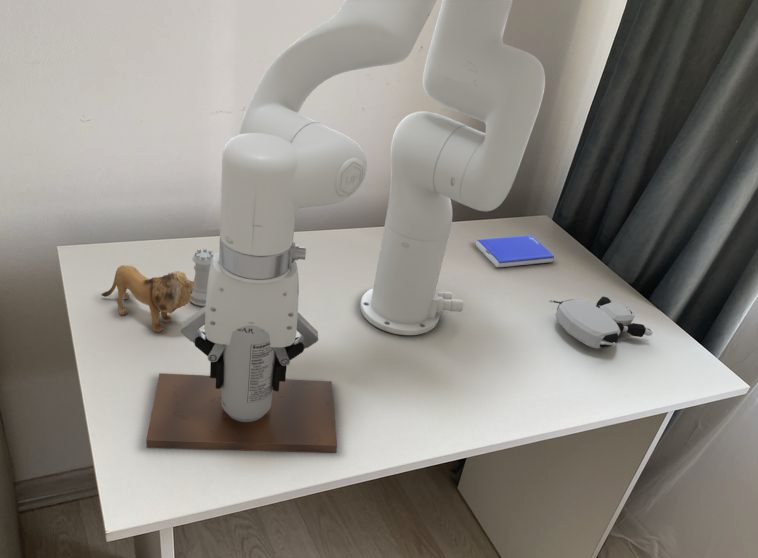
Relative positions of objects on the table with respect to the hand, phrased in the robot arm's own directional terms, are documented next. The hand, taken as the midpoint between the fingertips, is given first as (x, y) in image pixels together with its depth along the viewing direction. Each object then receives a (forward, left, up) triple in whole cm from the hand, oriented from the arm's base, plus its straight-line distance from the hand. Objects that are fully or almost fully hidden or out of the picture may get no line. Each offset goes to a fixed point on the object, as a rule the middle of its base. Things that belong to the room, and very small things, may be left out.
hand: (247, 381), depth 88 cm
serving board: (0, 0, -6) cm, 6 cm away
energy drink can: (0, 0, -5) cm, 5 cm away
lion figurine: (+14, -20, -6) cm, 25 cm away
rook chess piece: (+7, -25, -6) cm, 27 cm away
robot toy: (-56, -23, -6) cm, 61 cm away
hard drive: (-48, -47, -6) cm, 67 cm away
